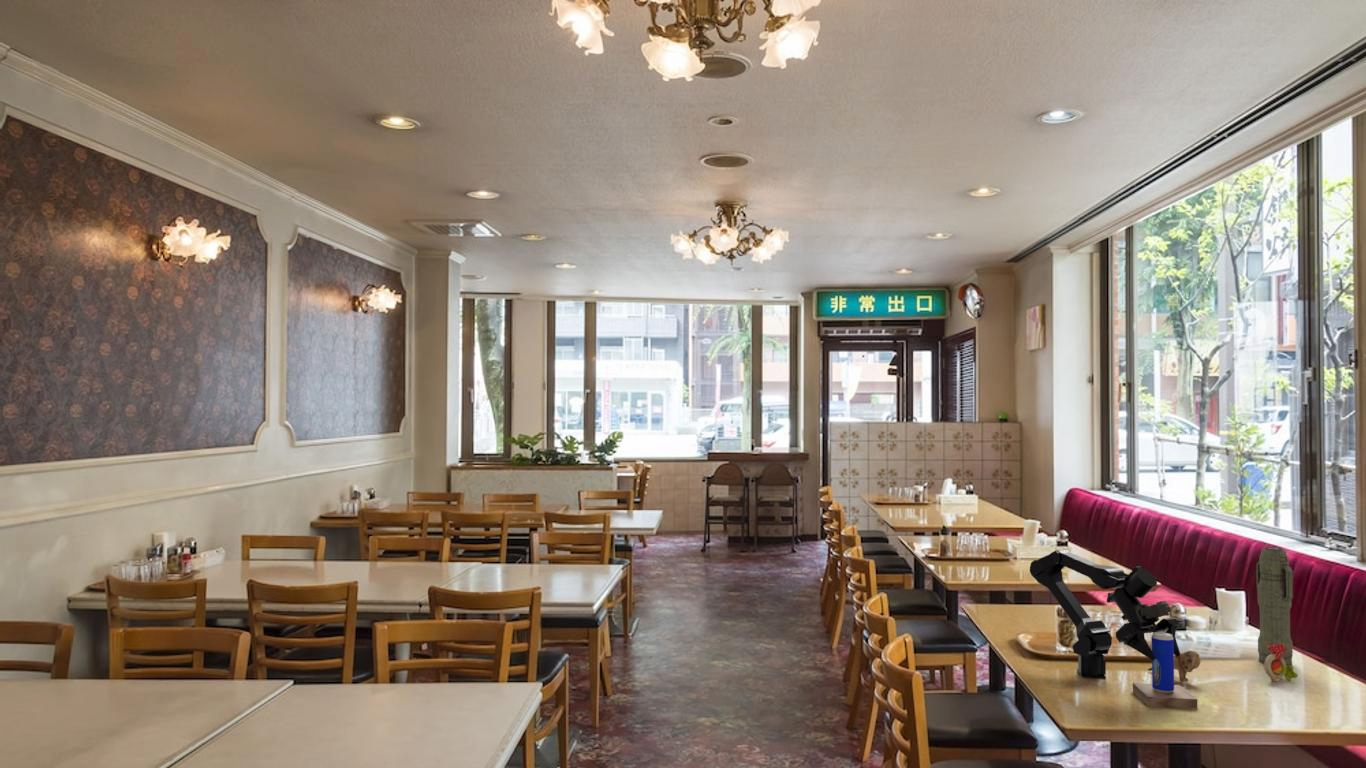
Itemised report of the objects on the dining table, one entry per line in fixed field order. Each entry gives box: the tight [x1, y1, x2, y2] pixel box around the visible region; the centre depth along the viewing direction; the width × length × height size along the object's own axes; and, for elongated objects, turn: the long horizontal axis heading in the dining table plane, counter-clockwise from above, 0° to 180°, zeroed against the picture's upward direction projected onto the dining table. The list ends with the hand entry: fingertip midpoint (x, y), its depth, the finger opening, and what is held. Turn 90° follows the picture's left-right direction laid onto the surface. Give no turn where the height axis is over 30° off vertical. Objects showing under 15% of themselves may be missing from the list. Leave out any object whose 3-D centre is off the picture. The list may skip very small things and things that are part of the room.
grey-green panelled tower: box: [1255, 546, 1294, 666], centre depth 277 cm, size 9×12×35 cm
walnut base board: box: [1132, 682, 1198, 709], centre depth 240 cm, size 12×12×2 cm
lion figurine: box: [1147, 650, 1202, 684], centre depth 261 cm, size 15×5×9 cm, turn 37°
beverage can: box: [1151, 632, 1175, 693], centre depth 241 cm, size 5×5×15 cm
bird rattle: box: [1263, 643, 1299, 683], centre depth 258 cm, size 6×11×9 cm
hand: (1166, 657), depth 240 cm, fingers open, 9 cm apart
